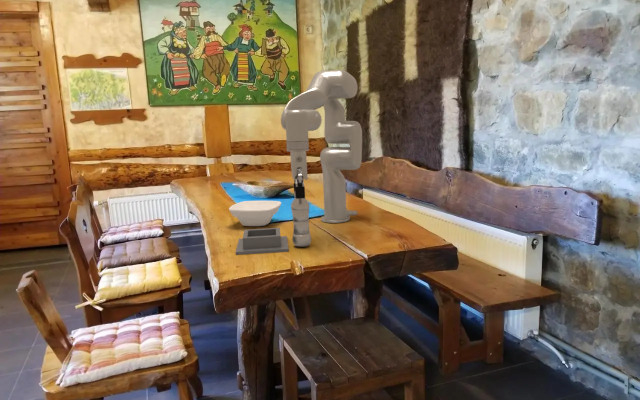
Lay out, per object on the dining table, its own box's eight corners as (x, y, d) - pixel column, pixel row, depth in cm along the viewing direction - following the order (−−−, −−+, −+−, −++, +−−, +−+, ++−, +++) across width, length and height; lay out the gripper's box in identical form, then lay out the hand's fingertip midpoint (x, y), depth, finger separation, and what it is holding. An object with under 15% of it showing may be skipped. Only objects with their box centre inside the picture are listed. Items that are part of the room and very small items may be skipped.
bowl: (272, 231, 193) (271, 210, 191) (224, 230, 197) (223, 210, 195) (286, 219, 213) (285, 200, 211) (242, 218, 217) (241, 200, 215)
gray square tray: (286, 238, 181) (286, 225, 180) (288, 251, 164) (287, 237, 163) (238, 241, 179) (238, 228, 178) (235, 254, 163) (234, 240, 162)
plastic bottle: (304, 249, 166) (302, 193, 162) (289, 247, 169) (286, 191, 166) (314, 245, 171) (312, 189, 167) (299, 242, 175) (296, 188, 171)
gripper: (310, 147, 155) (312, 199, 158) (306, 144, 172) (308, 191, 175) (287, 148, 155) (289, 200, 157) (285, 145, 172) (287, 192, 174)
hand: (299, 196), depth 166 cm, fingers open, 9 cm apart
